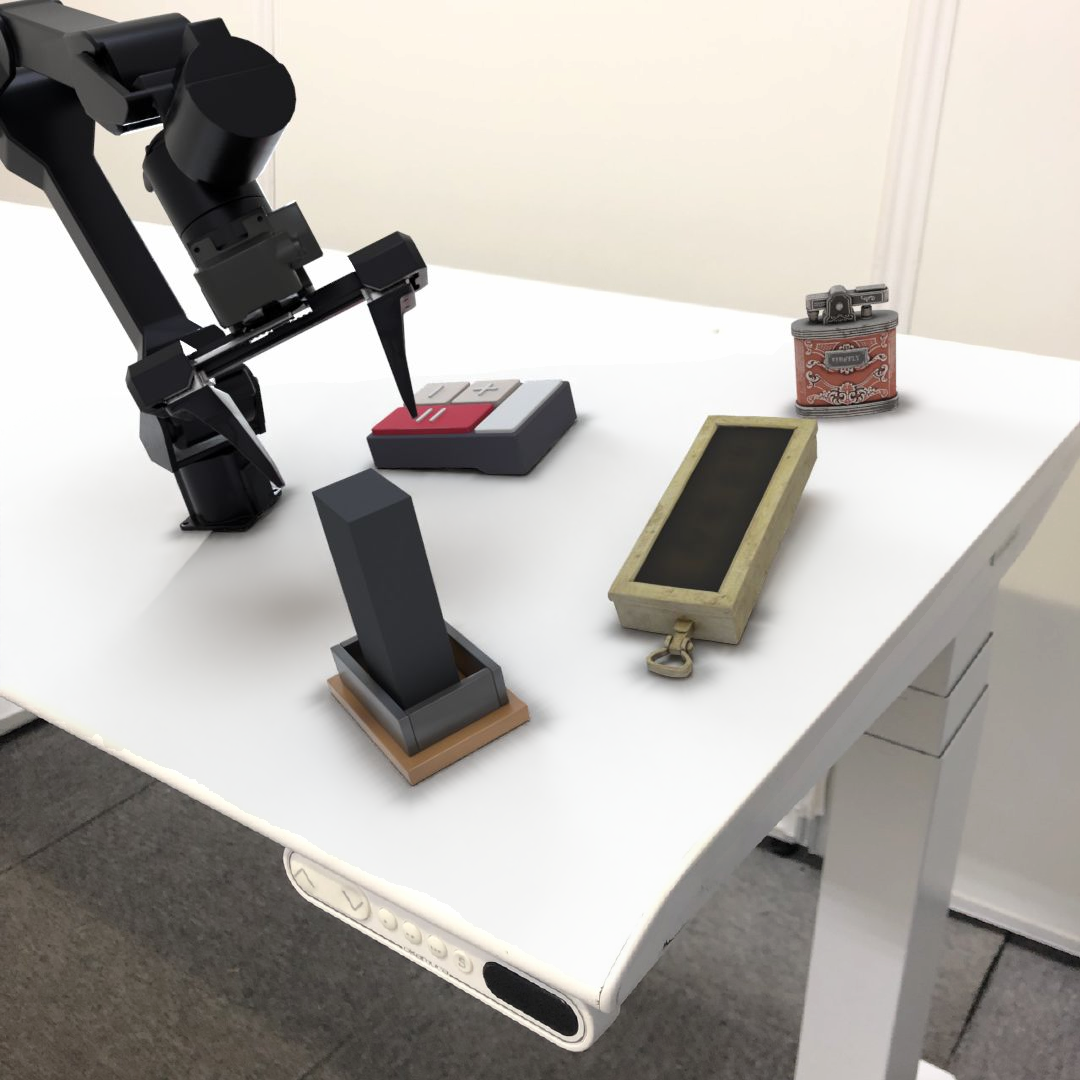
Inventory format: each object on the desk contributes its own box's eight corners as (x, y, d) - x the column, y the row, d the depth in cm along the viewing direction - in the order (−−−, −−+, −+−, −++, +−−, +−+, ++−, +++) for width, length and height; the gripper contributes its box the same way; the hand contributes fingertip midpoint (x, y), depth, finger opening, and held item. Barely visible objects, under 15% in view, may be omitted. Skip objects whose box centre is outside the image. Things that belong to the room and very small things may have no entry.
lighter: (796, 420, 84) (790, 301, 79) (794, 403, 86) (788, 287, 81) (901, 411, 82) (901, 288, 77) (895, 394, 85) (895, 274, 80)
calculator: (425, 378, 96) (569, 371, 89) (437, 421, 98) (579, 417, 91) (360, 429, 88) (514, 426, 81) (375, 474, 90) (526, 475, 83)
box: (826, 472, 72) (819, 412, 69) (736, 716, 58) (722, 654, 55) (713, 467, 76) (702, 411, 73) (602, 694, 62) (582, 635, 59)
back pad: (373, 687, 60) (310, 491, 54) (425, 661, 62) (371, 467, 55) (410, 728, 56) (347, 522, 50) (465, 699, 58) (411, 495, 51)
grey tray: (330, 692, 62) (314, 645, 61) (437, 638, 65) (425, 592, 64) (412, 786, 54) (396, 735, 52) (531, 719, 57) (519, 668, 55)
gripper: (31, 261, 54) (179, 527, 55) (352, 103, 55) (489, 367, 56) (101, 301, 65) (222, 521, 66) (367, 169, 66) (481, 388, 67)
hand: (349, 452), depth 64 cm, fingers open, 9 cm apart
